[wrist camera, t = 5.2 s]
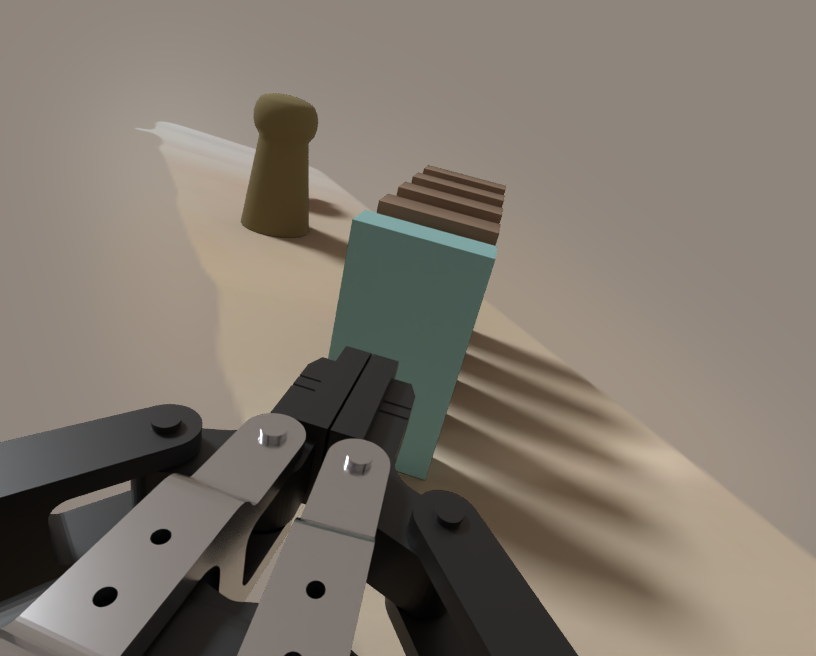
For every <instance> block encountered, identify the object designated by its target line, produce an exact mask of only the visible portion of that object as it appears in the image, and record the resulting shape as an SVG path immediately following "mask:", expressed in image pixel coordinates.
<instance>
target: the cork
mask: <svg viewBox="0 0 816 656" xmlns="http://www.w3.org/2000/svg"><path fill="white" fill-rule="evenodd" d="M254 123H255V126H256V128H257V130H258V132H259V138H258V144H257V148H256V153H255V157H254V162H253V167H252V171H251V176H250V181H249V185H248V190H247V195H246V200H245V204H244V209H243V214H242V218H241V223H242V225H243V226H245V227H246V228H248V229H249V230H252V231H255V232H257V233H261V234H265V235H269V236H276V237H290V238H291V237H300V236H303V235H306V234H307V233H308V232H309V189H308V143H309V142H310V141H311V140H312V139H313V138H314V136H315V134H316V131H317V127H318V117H317V113H316V110H315V108H314V107H313V106H312V105H311V104H310V103H308V102H306V101H304V100H302V99H300V98H297V97H294V96H290V95H285V94H276V93H275V94H274V93H273V94H264V95H262V96H260V98H259V99H258V100H257V102H256V105H255V108H254Z"/></svg>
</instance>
